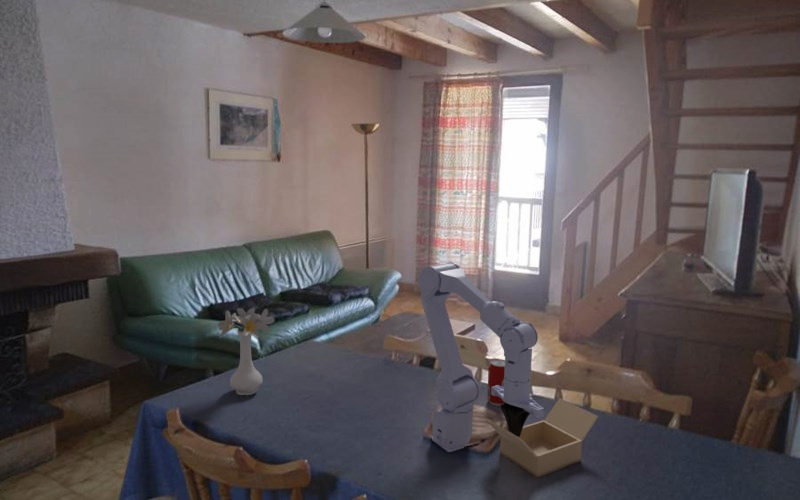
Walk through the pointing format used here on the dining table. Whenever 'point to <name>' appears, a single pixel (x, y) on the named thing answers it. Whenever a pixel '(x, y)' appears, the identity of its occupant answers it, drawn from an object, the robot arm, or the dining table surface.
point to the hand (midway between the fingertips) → (514, 435)
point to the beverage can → (495, 380)
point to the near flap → (511, 437)
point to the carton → (543, 449)
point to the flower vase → (246, 347)
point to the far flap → (571, 419)
